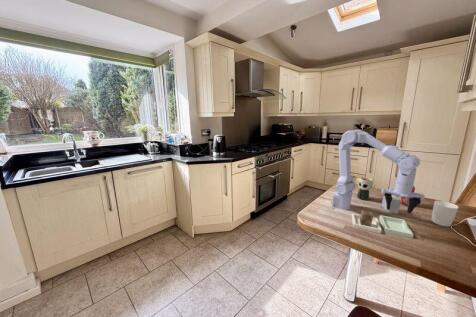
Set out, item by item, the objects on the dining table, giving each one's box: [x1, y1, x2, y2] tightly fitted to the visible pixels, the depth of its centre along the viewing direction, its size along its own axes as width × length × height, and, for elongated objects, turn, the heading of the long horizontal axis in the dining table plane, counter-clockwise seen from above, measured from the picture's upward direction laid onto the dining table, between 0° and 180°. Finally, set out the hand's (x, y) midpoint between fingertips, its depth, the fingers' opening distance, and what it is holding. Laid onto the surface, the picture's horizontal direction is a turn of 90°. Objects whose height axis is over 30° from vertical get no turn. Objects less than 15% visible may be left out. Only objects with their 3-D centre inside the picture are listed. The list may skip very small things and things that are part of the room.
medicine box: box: [381, 195, 401, 215], centre depth 104 cm, size 8×4×9 cm, turn 168°
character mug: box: [355, 176, 376, 201], centre depth 119 cm, size 11×7×13 cm, turn 29°
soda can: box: [397, 184, 416, 206], centre depth 112 cm, size 6×6×12 cm
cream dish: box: [351, 213, 383, 235], centre depth 92 cm, size 11×11×2 cm
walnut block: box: [360, 210, 374, 227], centre depth 91 cm, size 4×4×6 cm
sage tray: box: [378, 214, 414, 239], centre depth 89 cm, size 10×13×2 cm
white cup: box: [430, 200, 460, 228], centre depth 93 cm, size 8×8×10 cm
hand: (398, 210), depth 87 cm, fingers open, 7 cm apart
